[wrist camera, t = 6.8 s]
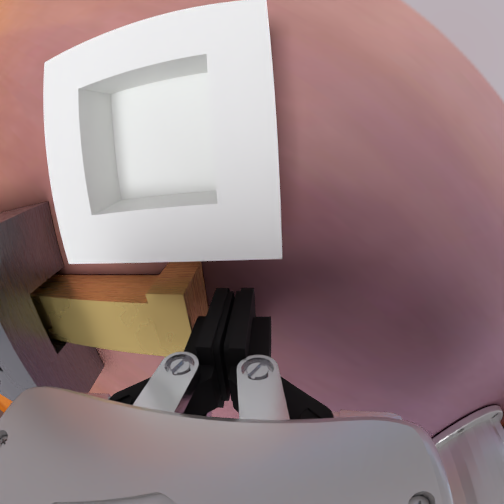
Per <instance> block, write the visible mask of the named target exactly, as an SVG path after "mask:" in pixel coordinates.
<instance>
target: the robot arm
mask: <svg viewBox="0 0 504 504" xmlns="http://www.w3.org/2000/svg"><path fill="white" fill-rule="evenodd" d="M230 394H231V400H232V401H233V407H234V409H235V410H237V411H238V412H239V419H234V418H220V417H211V415H212V412H211V411H212V410H214V409H215V408H217V407H220V408H223V406H224V401H229V398H230ZM502 416H503V411H502V410H501V408H500V406H497V405H493V406H489V407H485V408H483V409H481V410H478V411H476V412H474V413H472V414H470V415H469V416H467V417H465V418H463V419H462V420H460V421H458V422H457V423H455V424H453V425H452V426H450V427H449V428H447V429H446V430H444V431H443V432H441V433H440V434H438V435H437V436H436V437H434V438H433V439H431V437H430V436H429V434H428V433H427V432H426V431H425V430H424V429H423V428H422V427H420V426H419V425H417V424H415V423H412V422H409V421H406V420H403V419H402V418H401V416H399V415H397V414H395V413H390V412H366V411H351V410H340V412H331V410H330V409H329V408H328V407H326V406H325V405H323V404H322V403H320V402H318V401H317V400H315V399H314V398H312V397H311V396H309V395H308V394H306V393H305V392H303V391H302V390H300V389H299V388H297V387H296V386H294V385H293V384H291V383H290V382H288V381H287V380H285V379H284V378H282V377H281V376H280V372H279V367H278V365H277V362H276V361H275V360H274V359H272V358H271V317H256V314H255V295H254V288H241V291H237V292H236V295H235V296H234V291H230V289H229V288H216V291H215V293H214V296H213V299H212V301H211V304H210V307H209V310H208V312H207V315H206V316H198V317H197V319H196V322H195V324H194V327H193V329H192V332H191V334H190V337H189V339H188V342H187V344H186V347H185V349H184V352H175V353H172V354H170V355H168V356H167V357H165V359H164V360H163V361H162V362H161V364H160V365H159V367H158V368H157V370H156V371H155V372H154V374H153V375H152V377H150V378H148V379H146V380H144V381H142V382H139V383H137V384H135V385H133V386H131V387H128V388H126V389H124V390H121V391H119V392H117V393H115V394H114V395H113V396H112V397H111V396H110V395H109V394H99V393H80V392H76V391H72V390H68V389H63V388H58V387H48V386H43V387H33V388H29V389H26V390H25V391H23V392H22V393H21V394H20V395H19V396H18V397H17V398H16V399H15V400H14V401H13V402H12V403H11V405H10V406H9V407H8V409H7V410H6V411H5V413H4V414H3V416H2V417H1V418H0V504H504V429H503V427H502V425H501V423H500V421H501V419H502ZM410 498H411V499H410Z"/></svg>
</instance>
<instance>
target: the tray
mask: <svg viewBox="0 0 504 504" xmlns="http://www.w3.org/2000/svg"><path fill="white" fill-rule="evenodd" d="M43 99H44V129H45V142H46V153H47V162H48V170H49V177H50V183H51V190H52V195H53V201H54V206H55V211H56V216H57V220H58V225H59V229H60V233H61V237H62V241H63V245H64V249H65V252H66V256H67V259H68V263H69V264H99V263H148V262H190V261H228V260H262V259H282V231H281V202H280V177H279V157H278V138H277V121H276V106H275V91H274V78H273V65H272V53H271V42H270V31H269V21H268V11H267V1H266V0H242V1H232V2H224V3H217V4H210V5H204V6H198V7H193V8H188V9H183V10H179V11H174V12H170V13H166V14H162V15H158V16H155V17H151V18H148V19H144V20H141V21H138V22H135V23H132V24H129V25H126V26H123V27H120V28H117V29H115V30H112V31H110V32H107V33H104V34H102V35H100V36H97V37H95V38H92V39H90V40H88V41H86V42H83V43H81V44H79V45H77V46H75V47H73V48H71V49H69V50H67V51H65V52H63V53H61V54H59V55H57V56H55V57H53V58H52V59H50V60H48V61H46V62H45V65H44V94H43Z"/></svg>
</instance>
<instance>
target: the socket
mask: <svg viewBox="0 0 504 504" xmlns="http://www.w3.org/2000/svg"><path fill="white" fill-rule="evenodd" d="M63 267H64V264H63V261H62V257H61V254H60V250H59V247H58V243H57V239H56V235H55V231H54V227H53V223H52V218H51V214H50V209H49V204H48V201H47V202H43V203H38V204H34V205H29V206H25V207H21V208H17V209H13V210H9V211H5V212H2V213H0V394H1V395H3V396H5V397H6V398H8V399H10V400H12V401H14V400H15V399H16V398H17V397H18V396H19V395H20V394H21V393H22V392H23V391H25V390H26V389H29V388H33V387H43V386H48V387H58V388H63V389H68V390H72V391H76V392H80V393H88V392H89V391H90V389H91V387H92V386H93V384H94V382H95V381H96V379H97V377H98V376H99V374H100V373H101V371H102V369H103V368H104V365H103V363H102V361H101V359H100V357H99V354H98V352H97V350H96V348H95V347H90V346H84V345H79V344H74V343H69V342H64V341H59V340H54V339H50V338H49V337H48V335H47V333H46V331H45V329H44V327H43V325H42V322H41V320H40V318H39V316H38V313H37V311H36V309H35V306H34V304H33V302H32V299H31V297H30V294H31V293H32V292H33V291H34V290H36V289H37V288H38V287H39V286H40V285H42V284H43V283H44V282H45V281H46V280H48V279H49V278H50V277H51V276H53V275H54V274H55V273H56V272H58V271H59V270H60V269H62V268H63Z"/></svg>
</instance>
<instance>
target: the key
mask: <svg viewBox="0 0 504 504" xmlns="http://www.w3.org/2000/svg"><path fill="white" fill-rule="evenodd" d="M30 297H31V299H32V302H33V304H34V306H35V309H36V311H37V313H38V316H39V318H40V320H41V322H42V325H43V327H44V329H45V331H46V333H47V335H48V337H49V338H50V339H54V340H59V341H64V342H69V343H74V344H79V345H84V346H90V347H96V348H102V349H109V350H115V351H123V352H130V353H139V354H148V355H157V356H164V357H167V356H168V355H170V354H172V353H175V352H184V349H185V347H186V344H187V342H188V339H189V337H190V334H191V332H192V329H193V327H194V324H195V322H196V319H197V317H198V316H206V315H207V312H208V310H209V308H208V302H207V296H206V290H205V284H204V278H203V271H202V264H201V261H190V262H169V263H168V264H167V266H166V267H165V268H164V270H163V271H162V272H161V274H160V275H53V276H51V277H50V278H49V279H48V280H46V281H45V282H44V283H43V284H42V285H40V286H39V287H38V288H37V289H36V290H34V291H33V292H32V293H31V294H30Z"/></svg>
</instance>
